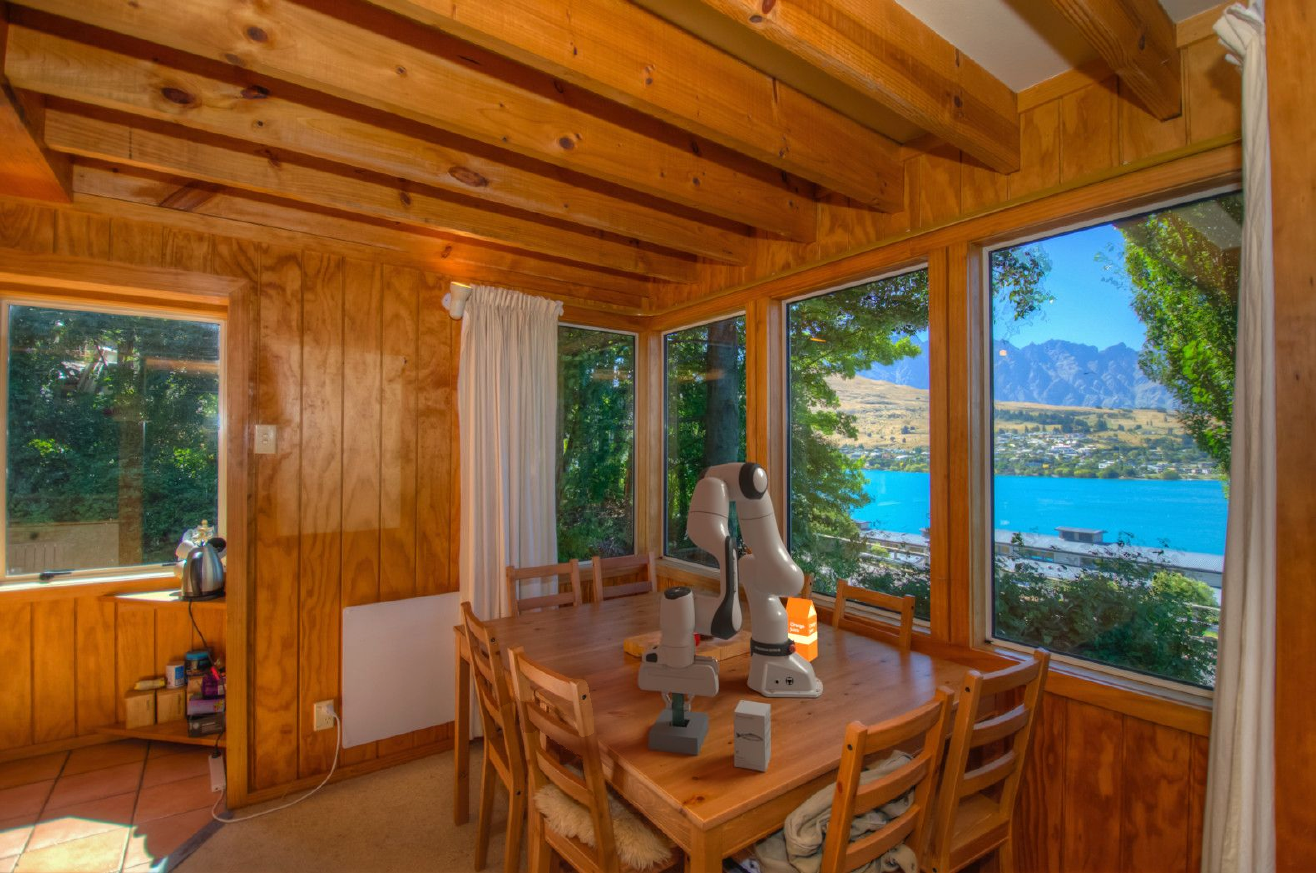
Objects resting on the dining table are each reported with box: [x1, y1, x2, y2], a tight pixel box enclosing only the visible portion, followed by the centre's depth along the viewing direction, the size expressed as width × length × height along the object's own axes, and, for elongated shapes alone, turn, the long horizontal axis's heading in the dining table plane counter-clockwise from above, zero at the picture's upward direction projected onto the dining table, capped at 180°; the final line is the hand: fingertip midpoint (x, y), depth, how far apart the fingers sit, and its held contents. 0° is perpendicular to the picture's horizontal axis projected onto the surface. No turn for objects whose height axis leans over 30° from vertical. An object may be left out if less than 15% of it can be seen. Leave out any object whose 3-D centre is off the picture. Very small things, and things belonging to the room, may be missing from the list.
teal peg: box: [671, 692, 685, 727], centre depth 152 cm, size 3×3×10 cm
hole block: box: [648, 708, 710, 756], centre depth 152 cm, size 12×14×4 cm
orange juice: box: [785, 597, 818, 663], centre depth 210 cm, size 8×9×20 cm
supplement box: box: [733, 699, 772, 773], centre depth 140 cm, size 7×7×13 cm
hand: (678, 709), depth 152 cm, fingers closed on teal peg, 3 cm apart
